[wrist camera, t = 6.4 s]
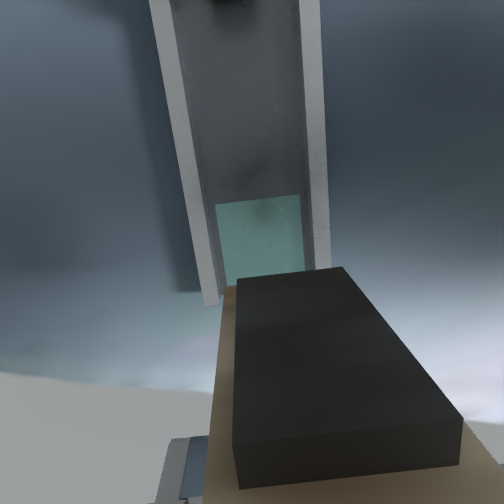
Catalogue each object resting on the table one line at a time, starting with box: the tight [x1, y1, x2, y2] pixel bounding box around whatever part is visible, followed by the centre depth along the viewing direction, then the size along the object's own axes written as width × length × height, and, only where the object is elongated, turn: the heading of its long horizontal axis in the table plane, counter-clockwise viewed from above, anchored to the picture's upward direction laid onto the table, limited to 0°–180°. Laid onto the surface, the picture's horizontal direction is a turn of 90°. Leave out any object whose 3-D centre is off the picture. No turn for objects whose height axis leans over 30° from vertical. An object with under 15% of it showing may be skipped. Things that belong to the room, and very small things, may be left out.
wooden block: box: [202, 267, 504, 504], centre depth 8 cm, size 4×7×8 cm, turn 6°
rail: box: [149, 0, 332, 306], centre depth 21 cm, size 10×28×9 cm, turn 7°
